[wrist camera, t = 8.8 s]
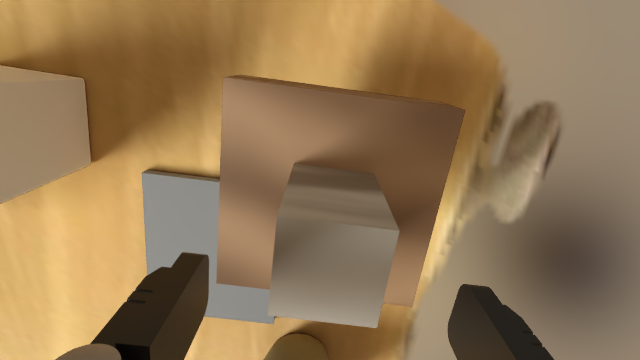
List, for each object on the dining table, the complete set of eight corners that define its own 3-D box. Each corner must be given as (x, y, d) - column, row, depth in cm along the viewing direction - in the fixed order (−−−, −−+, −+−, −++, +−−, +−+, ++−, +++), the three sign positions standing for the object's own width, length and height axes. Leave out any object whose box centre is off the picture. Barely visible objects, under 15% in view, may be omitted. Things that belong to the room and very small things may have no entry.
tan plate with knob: (241, 74, 18) (161, 85, 9) (440, 102, 19) (546, 136, 10) (232, 250, 22) (169, 378, 13) (399, 270, 22) (448, 409, 13)
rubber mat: (146, 169, 28) (141, 172, 27) (287, 187, 29) (286, 190, 28) (153, 304, 33) (149, 310, 32) (274, 318, 33) (273, 324, 32)
